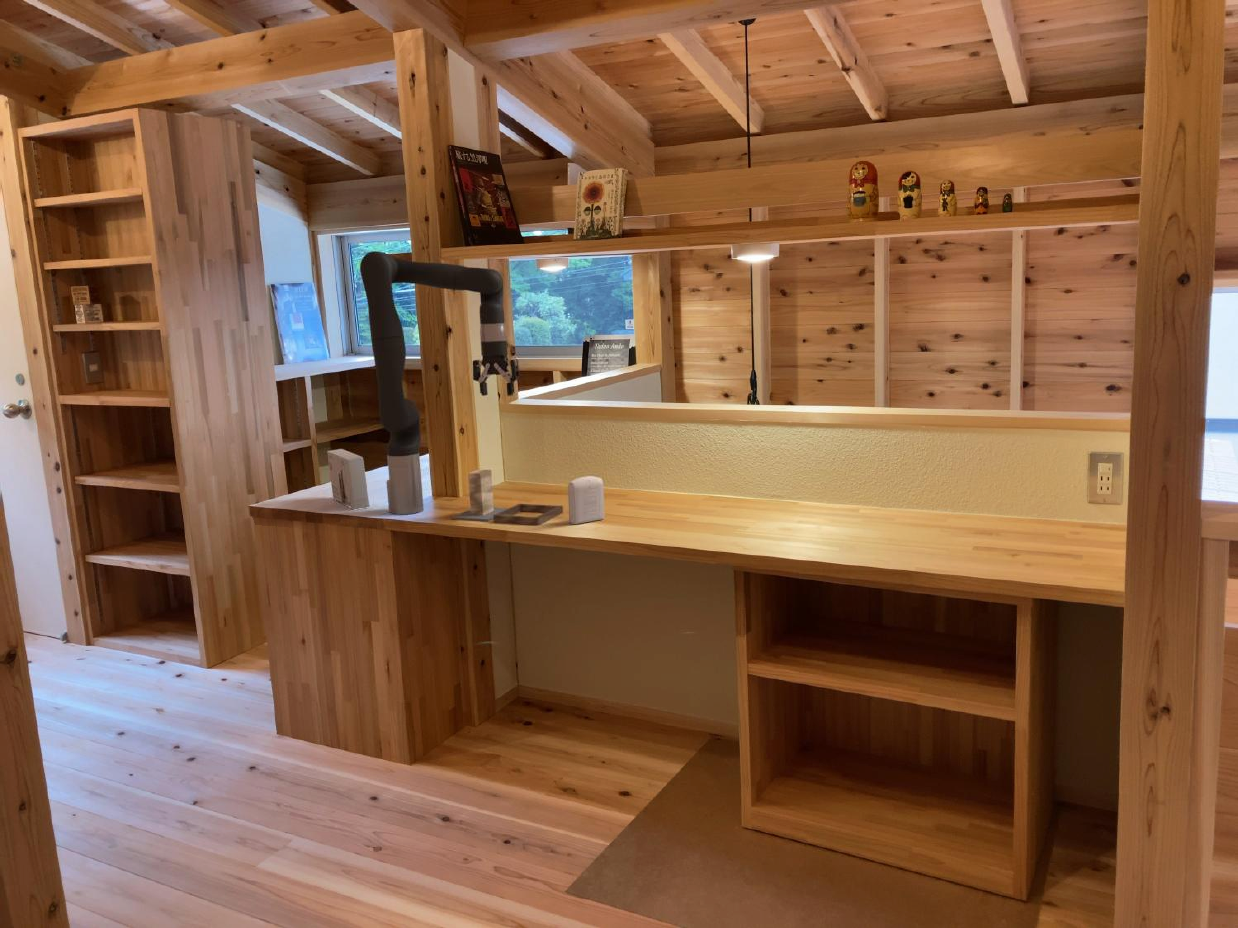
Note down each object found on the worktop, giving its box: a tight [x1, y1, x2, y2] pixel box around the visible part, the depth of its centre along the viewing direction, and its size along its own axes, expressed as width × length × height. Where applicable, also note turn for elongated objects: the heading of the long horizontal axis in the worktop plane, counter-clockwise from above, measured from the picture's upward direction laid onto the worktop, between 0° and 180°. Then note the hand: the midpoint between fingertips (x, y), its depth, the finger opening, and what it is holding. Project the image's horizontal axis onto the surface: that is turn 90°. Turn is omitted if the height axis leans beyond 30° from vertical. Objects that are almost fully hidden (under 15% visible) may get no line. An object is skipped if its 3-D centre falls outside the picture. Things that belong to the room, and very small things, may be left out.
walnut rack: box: [493, 503, 564, 526], centre depth 270 cm, size 14×15×2 cm
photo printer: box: [567, 475, 605, 525], centre depth 262 cm, size 10×4×12 cm, turn 123°
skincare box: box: [326, 448, 370, 510], centre depth 297 cm, size 21×5×16 cm, turn 33°
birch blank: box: [467, 468, 495, 515], centre depth 275 cm, size 4×6×12 cm, turn 157°
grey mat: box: [451, 506, 510, 522], centre depth 276 cm, size 12×14×1 cm
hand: (497, 395), depth 279 cm, fingers open, 8 cm apart
